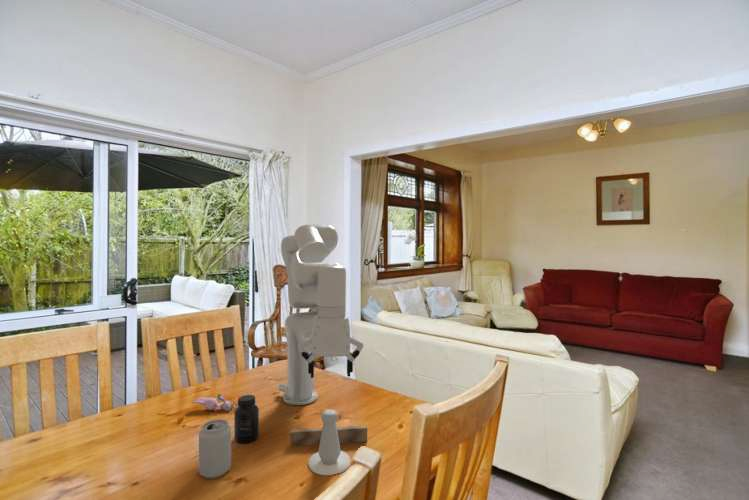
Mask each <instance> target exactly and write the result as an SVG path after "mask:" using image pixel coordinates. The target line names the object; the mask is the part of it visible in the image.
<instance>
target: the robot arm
mask: <svg viewBox="0 0 749 500" xmlns="http://www.w3.org/2000/svg"><path fill="white" fill-rule="evenodd" d="M338 242H339V235H338V232H337V230H336V227H334V226H332V225H329V224H302V225H300V226H299V227H298V228H296V230H295V232H294V235H293V234H292V235H288V236H285V237H283V238H282V240H281V242H280V243H281V244H280V251H281V252H280V253H281V257H282V260H283V262H284V265H285V269H286V272H287V293H288V294H287V295H288V297H287V298H288V304H289V306H290V307H291V308H293V309H295V310H296V309H298V310H300V309H301V310H305V309H311V311H305V312H304V311H303V312H301V311H300V312H295V313H291V314H289V315H288V316H287V317H286V319H285V321H284V328H285V329H284V330H285V335H286V343H287V344H286V345H287V346H286V347H287V357H286V358H287V367H286V368H287V376H286V377H287V380H286V381H287V382H286V383H287V384H285V383H279V384H278V392H283V393H284V394H283V395H282V401H283V402H284V403H285V404H288V405H291V406H292V405H293V406H305V405H309V404H311V403H314V402H315V401H317V399H318V398H319V397H318V395H319V394H318V391H316V390H315V389H314V386H315V385H314V382H315V379H314V377H315V376H314V374H315V359H316V357H317V358H318V357H319V358H320V357H321V358H322V357H323V358H326V357H327V358H329V357H333V358H334V357H345V358H347V359H346V366H347V367H346V375H347V378H349V377H351V373H354V361H355V359H357V357H358V356H359V355H360V354H361V352H362V350H363V348H364V343H363V342H362V341H359V340H357V339H355V338H353V337H351V329H350V328H351V326H350V320H349V317H348V315H346V312H347V311H346V304H347V303H346V302H347V301H346V298H347V291H346V290H347V286H346V285H347V282H346V281H347V269H346V268H345V267H344V266H343V265H341V264H340V263H338V262H334V261H333V262H330V261H329V262H324V261H325V259H326V258H327V257H329V255H330V254H332V253H333V251H335V249H336V248H337V246H338ZM351 344H352V345H353V346H355V347H356V348H355V349H354V350H353V351H352V352H351Z"/></svg>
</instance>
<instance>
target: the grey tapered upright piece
mask: <svg viewBox="0 0 749 500" xmlns="http://www.w3.org/2000/svg"><path fill="white" fill-rule="evenodd" d="M338 415H339V414H338V412H337V410H335V409H325V410H324V411H323V412H322V413H321V422H322V427H321V428H322V434H321V440H320V445H318V452H319V457H320V458H321V460H322V462H323V464H326V465H331V464H334V463H336V461H337V459H338V457H339V455H340V451H341V446H340V445H341V443H339V438H338V433H337V427H338V426H337V423H336V422H338V418H339V416H338Z"/></svg>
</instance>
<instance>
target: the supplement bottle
mask: <svg viewBox="0 0 749 500" xmlns="http://www.w3.org/2000/svg"><path fill="white" fill-rule="evenodd" d="M237 403H238V405H237V408H236V407H235V410H234V411H233V413H234V416H233V418H234V419H233V422H234V426H233V427H234V431H233V432H234V441H235V442H236V443H238V444H243V445H244V444H250V443H253V442H255V441H257V439H258V438H259V435H260V427H259V426H260V423H259V422H260V420H259V419H260V416H259V415H260V413H259V412H260V410H259V407H258V405H257V404H256V397H255V395H253V394H245V395H241V396H239V397H238V399H237Z"/></svg>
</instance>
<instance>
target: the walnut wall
mask: <svg viewBox="0 0 749 500" xmlns="http://www.w3.org/2000/svg"><path fill="white" fill-rule="evenodd" d="M336 427H337V433H338V438H339V444H348V443H349V444H351V443H365V442H368V425H353V426H352V425H351V426H336ZM322 428H323V427H319V428H317V427H315V428H301V429H300V428H298V429H297V428H296V429H290V430H289V447H300V446H316V445H317V446H319V445H320V440H321V434H322ZM364 441H365V442H364Z"/></svg>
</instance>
